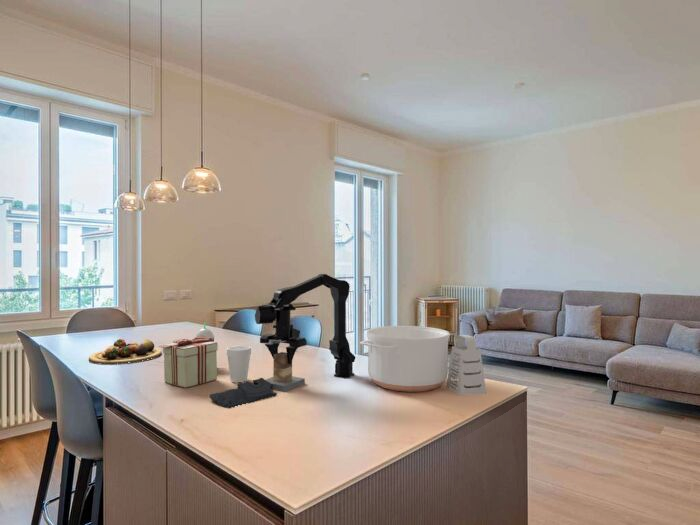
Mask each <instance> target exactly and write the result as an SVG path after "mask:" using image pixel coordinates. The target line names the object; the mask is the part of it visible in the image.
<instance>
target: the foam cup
mask: <svg viewBox="0 0 700 525" xmlns="http://www.w3.org/2000/svg"><path fill="white" fill-rule="evenodd" d="M251 354H252V347H251V346H249V345H233V346H229V347H228V346H227V347H226V356H227V361H228V372H229V378H230V379H229V380H230V382H231V383H233V382H241V383H245V382H247V381H248V374H249V368H250V362H251V361H250V360H251ZM244 381H245V382H244Z"/></svg>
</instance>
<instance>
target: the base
mask: <svg viewBox="0 0 700 525" xmlns="http://www.w3.org/2000/svg"><path fill="white" fill-rule="evenodd" d="M264 380H265V381H267V382H269V383H271V384H272V385H273V387H272V390H274V389H275V391H280V392H284V393H285V392H287V391H290V390H293V389H295V388H297V387H300V386H303V385H305V384H306V379H305V378H304V377H298V376H293V375H292V380H289V381H286V382H279V381H273V376H271V377H269V378H266V379H264Z"/></svg>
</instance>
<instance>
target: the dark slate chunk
mask: <svg viewBox="0 0 700 525" xmlns="http://www.w3.org/2000/svg"><path fill="white" fill-rule="evenodd" d="M265 380H266V379H265V378H263V377H260V378H257V379H253V380H252V381H248V380H247V381H245V382H241V383H237V387H236V388H230V389H227V390H224V391H220V392H215V393H210V394H209V399H210V400H212V401H214V402H215V403H217V404H218V405H220V406H222V407H223V408H226V407H229V408H228V409H232V408H231V407H233V408H236V407H235V406H237V407H239V406H238V405H240V406H243V405H242V404H245V405H247V404H246V403H248V404H252V403H255V401H256V402H258V400H259V401H262V400H261V399H263V400H266V399H268V398H269V397H270V398H272V396H273V397H276V395H277V394H278V393H277V392H274V390H273V389H272V387H273V385H272V384H271V383H269V382H267V381H265ZM277 396H278V395H277ZM265 398H266V399H265ZM251 402H252V403H251Z"/></svg>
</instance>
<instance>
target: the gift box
mask: <svg viewBox="0 0 700 525" xmlns="http://www.w3.org/2000/svg"><path fill="white" fill-rule="evenodd" d="M210 341H211V340H210V339H208V338H207V337H206V336H198V337H196V338H195V337H194V338H193V339H188V338H180V339H175V340H173V341H172V343H168V344H163V345H159V346H158V347H159V348H161V349H162V353H163V362H164V364H163V365H164V370H163V372H164V376H163V377H164V379H163V380H164V383H165V382H167V383H166V384H169V383H170V384H169V385H172V384H173V386H177V387H181V388H184V389H186V388H191V387H195V386H198V385H202V384H206V383H209V382H213V381H216V380H217V379H218V367H217V366H218V365H217V364H218V361H217V360H218V359H217V351H218V350H219V349H218V348H219V347H218V342H215V341H214V342H210Z"/></svg>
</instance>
